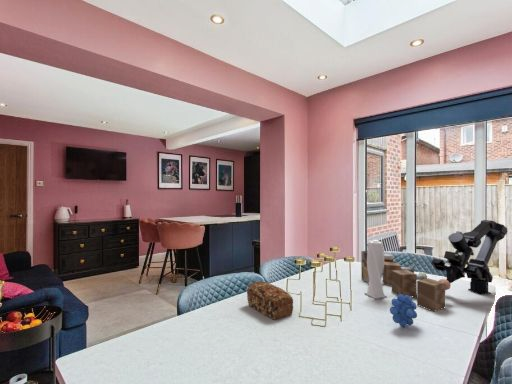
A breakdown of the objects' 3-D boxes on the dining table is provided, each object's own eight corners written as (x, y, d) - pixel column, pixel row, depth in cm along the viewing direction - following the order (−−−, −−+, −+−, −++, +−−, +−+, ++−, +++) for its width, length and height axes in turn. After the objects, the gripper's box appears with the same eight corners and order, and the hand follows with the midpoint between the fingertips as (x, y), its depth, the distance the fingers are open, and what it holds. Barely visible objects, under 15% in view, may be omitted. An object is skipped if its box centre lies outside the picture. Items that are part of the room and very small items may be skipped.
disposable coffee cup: (397, 276, 160) (397, 256, 160) (380, 276, 160) (380, 256, 160) (389, 272, 169) (389, 252, 169) (373, 272, 169) (373, 252, 169)
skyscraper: (389, 298, 126) (389, 237, 126) (376, 301, 123) (376, 238, 123) (375, 292, 134) (375, 235, 134) (362, 294, 131) (362, 235, 131)
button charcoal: (412, 273, 147) (412, 264, 147) (414, 275, 142) (414, 267, 142) (395, 272, 149) (395, 263, 149) (396, 274, 145) (396, 265, 145)
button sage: (420, 280, 135) (420, 270, 135) (427, 283, 130) (427, 273, 130) (404, 280, 134) (404, 271, 134) (410, 283, 130) (410, 274, 130)
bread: (246, 305, 118) (246, 282, 118) (266, 300, 124) (266, 278, 124) (273, 322, 103) (273, 295, 103) (294, 315, 109) (294, 289, 109)
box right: (428, 301, 122) (428, 278, 123) (445, 307, 116) (445, 282, 116) (417, 305, 119) (417, 280, 119) (433, 311, 113) (433, 285, 113)
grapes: (400, 335, 93) (400, 299, 94) (385, 326, 100) (385, 292, 100) (426, 330, 97) (426, 296, 97) (410, 321, 103) (410, 289, 103)
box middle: (407, 291, 136) (407, 270, 136) (416, 296, 129) (416, 274, 129) (391, 291, 135) (391, 270, 135) (400, 297, 128) (400, 274, 128)
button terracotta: (439, 287, 124) (439, 277, 124) (450, 291, 120) (450, 280, 120) (428, 290, 121) (428, 280, 121) (439, 294, 116) (439, 283, 116)
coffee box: (381, 283, 148) (381, 253, 148) (372, 284, 146) (372, 254, 146) (370, 278, 157) (370, 250, 157) (360, 279, 155) (360, 250, 155)
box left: (398, 282, 150) (398, 262, 150) (401, 286, 143) (401, 266, 143) (382, 280, 153) (382, 261, 153) (384, 284, 146) (384, 264, 146)
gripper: (433, 241, 134) (419, 266, 129) (478, 248, 117) (464, 277, 112) (443, 256, 137) (429, 281, 132) (488, 265, 121) (474, 294, 116)
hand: (447, 283), depth 123 cm, fingers closed
